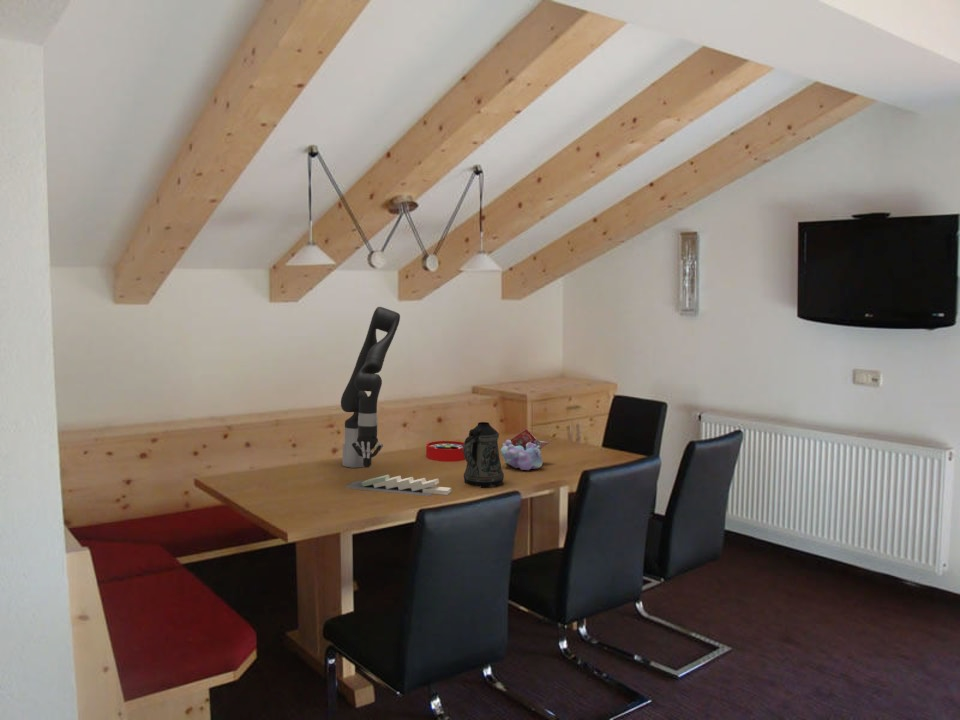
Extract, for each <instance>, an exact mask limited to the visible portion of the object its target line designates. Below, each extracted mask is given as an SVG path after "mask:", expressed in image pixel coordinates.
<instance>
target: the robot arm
mask: <svg viewBox="0 0 960 720" xmlns="http://www.w3.org/2000/svg"><path fill="white" fill-rule="evenodd" d="M370 320H371V321H370V322H369V323H370V324H369V327H368V330H367V334H366V335H365V336H366V337H365V340H364V342H363V344H362V347H361V350H360V352H359V355H358V357H357V360H356V363H355V365H354V368H353V370H352V374H351V376H350V378H349V381H348V383H347V385H346V387H345V389H344V391H343V393H342V395H341V399H340V407H341V409H342V411H344V412H345V413H353V414H352V415H351V417H349V418H347V419H345V420H344V443H343V444H342V467H345V468H346V467H347V468H353V469H354V468H355V469H357V468H363V467H364V468H371V466H372V459H373V458H374V457H377V455H378V453H379V452H380V451H381V450H382V448H384V445H383V444H381V443H380V442H379V440H378V439H379V438H378V411H377V410H378V399H379V395H380V391H381V389H382V388H381V387H382V386H383V381H382V376H381V375H379V374H378V373H380V372H381V371H382V368H383V365H384V361H385V358H386V355H387V353H388V350H389V348H390V346H391V344H392V342H393V339H394V337H395V334H396V332H397V330H398V326H399V324H400V321H401V315H400V313H399V312H396V311H395V310H391V309H388V308H386V307H383V306H378V307H376V308H375V309H374V311H373V314H372V317H371V319H370ZM377 330H379V331H381V332H384V333H386V335H384V337H383V338H381V339H380V340H379V341H378V340H377ZM367 392H370V394H369V396H368V394H367ZM374 448H375V450H374Z"/></svg>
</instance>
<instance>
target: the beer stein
mask: <svg viewBox="0 0 960 720" xmlns="http://www.w3.org/2000/svg"><path fill="white" fill-rule="evenodd" d="M499 438H500V433H499V432H498V431H497V430H496V429H495V428H493V427H492V426H491V425H490V423H489V422H485V421H480V422H477V425H476V426H475V427H474V428H472V429H470V430H469V432H468V436H467V437H466V438H465V439H464V442H463V443H464V444H463V454H464V457H465V459H466V460H465V461H466V465H465V467H466V468H465V470H464V473H463V480H464V483H465V484H466V485H470V486H474V487H480V489H481V488H482V489H488V488H489V489H491V488H496V487H500V486H503V482H504V477H505V475H504V471H503V468H502V464H501V459H500V458H501V457H500V450H499V443H498V441H499Z"/></svg>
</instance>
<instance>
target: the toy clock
mask: <svg viewBox="0 0 960 720" xmlns="http://www.w3.org/2000/svg"><path fill="white" fill-rule="evenodd" d="M463 444H464V442H462V441H457V440H455V441H454V440H437V441H435V440H434V441H430V442H427V444H426V447H425V449H426V450H425V458H426V459H428V460H431V461H435V462H449V463H451V462H461V461H466V459H465V457H464V454H463Z"/></svg>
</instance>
